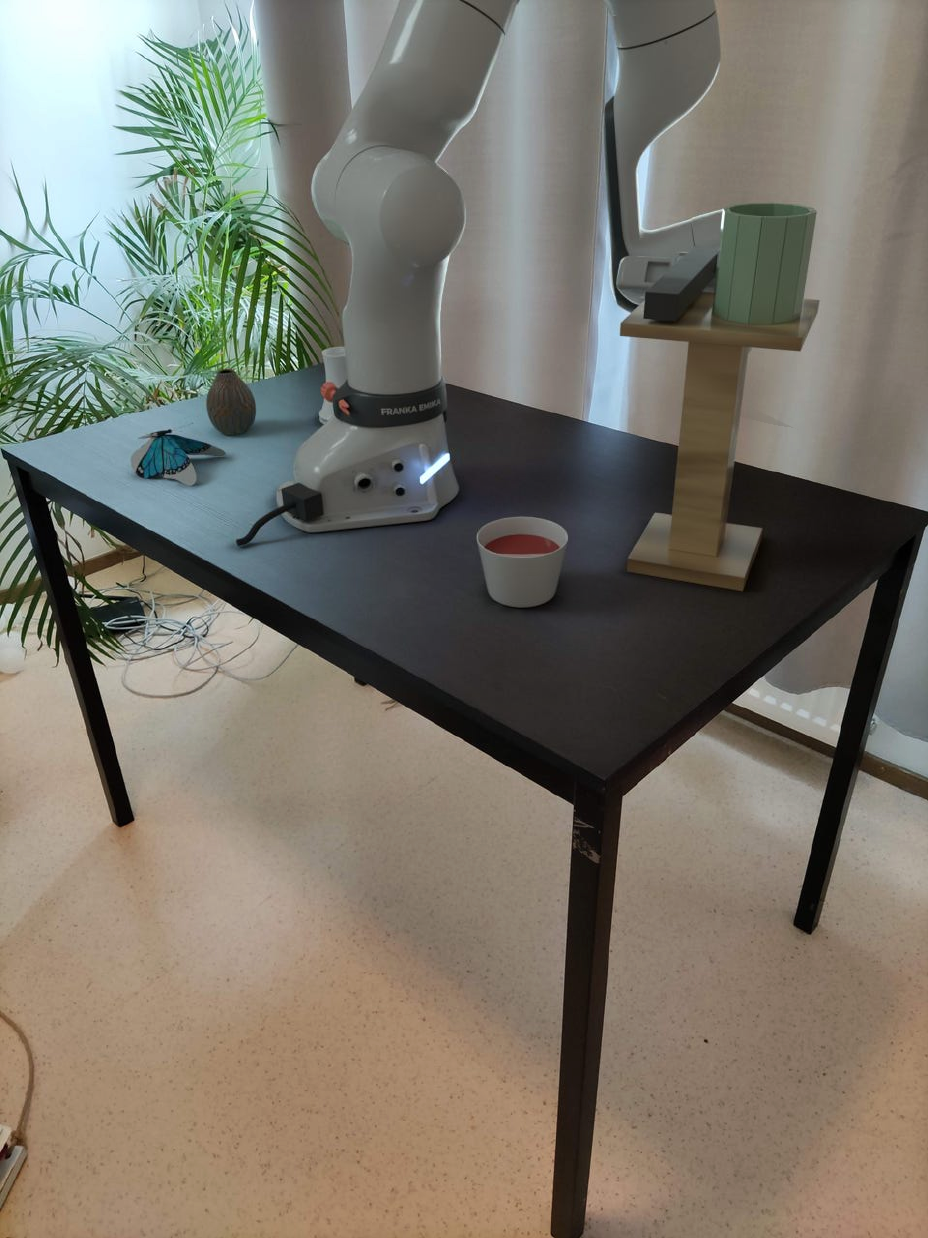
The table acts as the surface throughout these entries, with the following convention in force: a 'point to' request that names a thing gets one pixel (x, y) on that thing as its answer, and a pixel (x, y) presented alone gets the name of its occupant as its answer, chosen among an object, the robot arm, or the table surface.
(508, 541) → the white sauce bowl
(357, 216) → the robot arm
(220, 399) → the vase
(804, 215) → the green cup
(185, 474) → the decorative butterfly
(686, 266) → the black bar
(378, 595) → the table surface
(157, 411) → the table surface
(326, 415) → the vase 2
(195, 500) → the table surface
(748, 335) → the birch stand
